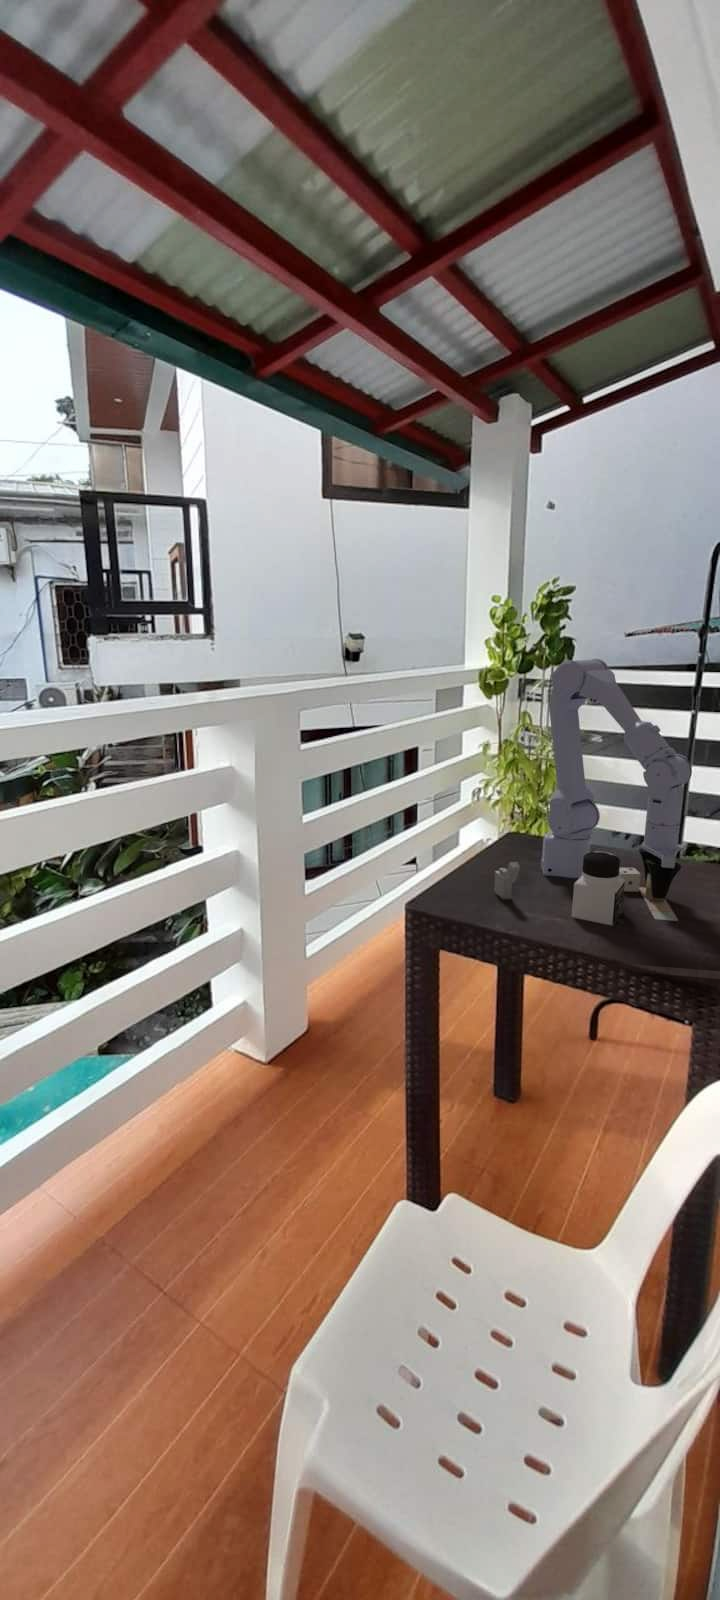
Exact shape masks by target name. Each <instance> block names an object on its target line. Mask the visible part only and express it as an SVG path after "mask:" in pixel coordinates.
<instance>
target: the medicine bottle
mask: <svg viewBox="0 0 720 1600" xmlns="http://www.w3.org/2000/svg"><path fill="white" fill-rule="evenodd" d="M620 866H621V859H620V858H619V856H617V855H616V854H613V853H611V852H608V851H600V850H599V851H598V850H596V851H591V852H590V853H587V854H585V855H584V857H583V870H582V876H581V877H580V878H577V880H576V881H575V882H574V884H573V892H572V894H573V895H572V896H573V897H572V904H571V905H572V907H571V918H573V919H578V920H583V921H590V922H594V923H597V924H599V923H600V924H604V925H609V926H615V924H616V922H617V921H618V920H619V918H620V916H621V915H622V913H623V905H624V897H625V896H624V895H625V894H624V893H625V891H624V885H625V880H624V879H621V878H619V868H621V867H620Z"/></svg>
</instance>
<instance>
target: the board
mask: <svg viewBox="0 0 720 1600" xmlns="http://www.w3.org/2000/svg"><path fill="white" fill-rule="evenodd" d="M639 892H640V893H641V896H642V897H643V899H644V901H645V903H646V905H647V907H648V909H649V911H650V913H651V914H652V917H653V918H654V920H656V921H657V920H659V921H660V920H661V921H671V922H679V919H678V917H677V916H676V914H675V912H674V910H672V908H671V906H670V904H669V902H668V901H667V900H666V898H665V901H664V902H652V901H649V900H647V899H646V898H645V896H646V887H644V886H643V887H642V886H639Z"/></svg>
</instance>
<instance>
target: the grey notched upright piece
mask: <svg viewBox="0 0 720 1600" xmlns="http://www.w3.org/2000/svg"><path fill="white" fill-rule="evenodd" d="M520 871H521V866H520V864H519V862H518V861H511V862H509V863H508V865H507V868H505V867H501V868H499V869H498V870H495V871H494V890H493V892H494V894H496V895H497V896H498V897H499V898H501V899H502V900H511V899H512V891H513V889H512V888H513V886H512V885H513V883H516V882H517V879H518V876H519V873H520Z"/></svg>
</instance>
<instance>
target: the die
mask: <svg viewBox="0 0 720 1600" xmlns="http://www.w3.org/2000/svg"><path fill="white" fill-rule="evenodd" d="M619 878H621V879H624V880H625V885H624V892H637V893H639V892H640V890H639V887H640V884H641V873H640V872H639V871H638V870H637V869H636V868H635V867H620V868H619Z"/></svg>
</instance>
